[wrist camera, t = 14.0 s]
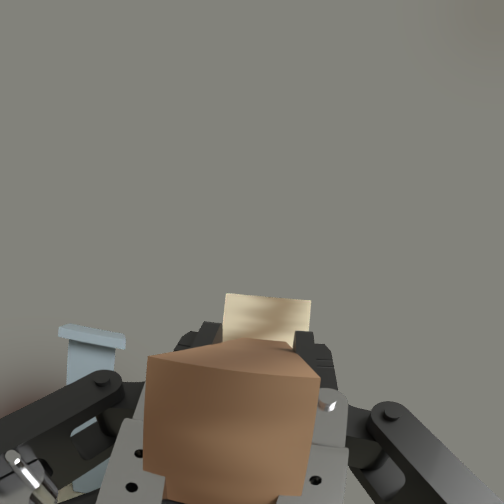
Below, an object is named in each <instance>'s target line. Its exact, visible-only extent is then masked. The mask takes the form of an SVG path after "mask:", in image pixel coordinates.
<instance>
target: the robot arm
mask: <svg viewBox="0 0 504 504" xmlns="http://www.w3.org/2000/svg"><path fill="white" fill-rule="evenodd" d="M222 342H223V326H222V324H221V323H214V322H205V321H204V322H203V325H202V326H201V328H200V330H199V332H193V331H190V332H188V333H187V334H185V335H184V336H182V338H181V339H180V341H179V342H178V345H177V346H176V347H175V349H174V351H173V352H175V351H180V350H186V349H191V348H196V347H201V346H206V345H213V344H218V343H222ZM292 350H293V351H294V352H295V353H296V354H298V355H299V356H300V357H301V358H302V359H303V360H304V361H305V362H306V363H307V364H308V365H309V366H310V367H311V368H312V369H313V370H314V371H315V373H316V374H317V375H318V376H319V377H320V378H321V381H320V389H319V396H318V404H317V411H316V418H315V424H314V431H313V437H312V443H311V449H310V454H309V460H308V465H307V470H306V475H305V480H304V485H303V490H302V495H301V496H284V495H279V497H278V500H277V503H276V504H343V499H344V492H345V484H346V475H347V467H348V466H349V468H350V470H351V471H352V473H353V474H354V475H355V477H356V478H357V479H358V481H359V482H360V483H361V485H362V486H363V488H364V489H365V490H366V492H367V493H368V494H369V496H370V497H371V499H372V500H373V501H374V503H375V504H504V502H502V500H501V499H499V498H498V497H497V496H496V495H495V494H494V493H493V492H492V491H491V490H490V489H489V488H488V487H487V486H486V485H485V484H484V483H483V482H482V481H481V480H480V479H479V478H478V477H477V476H475V474H473V473H472V471H470V470H469V469H468V468H467V467H466V466H465V465H464V464H463V463H462V462H461V461H460V460H459V459H458V458H457V457H456V456H455V455H454V454H453V453H452V452H451V451H450V450H449V449H448V448H447V447H446V446H445V445H444V444H443V443H442V442H441V441H440V440H439V439H437V438H436V437H435V436H434V435H433V434H432V433H431V432H430V431H429V430H428V429H427V428H426V427H425V426H424V425H423V424H422V423H421V422H420V421H419V420H418V419H417V418H416V417H415V416H414V415H413V414H412V413H411V412H410V411H409V410H408V409H407V408H405V407H404V406H403V405H401V404H399V403H396V402H390V401H386V402H381V403H378V404H377V405H375V406H374V407H373V409H372V410H371V411H368V410H364V409H360V408H356V407H353V406H350V405H349V404H348V400H347V398H346V397H345V396H344V395H343V394H342V393H341V392H339V391H338V388H337V382H336V376H335V370H334V365H333V361H332V355H331V351H330V350H329V349H328V348H327V347H326V346H325V344H314V336H313V332H309V331H296V330H295V334H294V340H293V348H292ZM145 386H146V381H145V382H122V379H121V376H120V375H119V374H118V373H116V372H114V371H112V370H97V371H94V372H92V373H90V374H88V375H86V376H84V377H82V378H80V379H79V380H77V381H75V382H73V383H71V384H69V385H67V386H65V387H63V388H61V389H59V390H57V391H55V392H53V393H51V394H49V395H47V396H46V397H43V398H42V399H40V400H37V401H35V402H34V403H32V404H29V405H27V406H25V407H23V408H21V409H20V410H17V411H15V412H13V413H11V414H9V415H7V416H5V417H3V418H1V419H0V504H57V499H56V498H57V496H58V490H60V489H62V488H63V487H65V486H66V485H68V484H70V483H71V482H73V481H74V480H76V479H78V478H79V477H81V476H82V475H84V474H85V473H87V472H89V471H90V470H92V469H93V468H95V467H96V466H98V465H99V464H101V463H102V462H104V461H105V460H107V459H108V458H109V457H110V459H109V462H108V466H107V469H106V472H105V475H104V478H103V481H102V484H101V487H100V488H98V489H96V490H93V491H91V492H88V493H85V494H83V495H80V496H78V497H75V498H72V499H69V500H67V501H64V502H61V503H58V504H185V503H181V502H177V501H173V500H169V499H168V497H167V488H166V477H164V476H160V475H157V474H153V473H150V472H147V471H144V470H143V423H144V402H145ZM94 417H96V420H97V421H96V422H94V423H93V424H91V425H90V426H88V427H86V428H85V429H83V430H81V431H80V432H78V433H76V434H74V435H73V436H71V433H72V431H73V430H74V429H75V428H77V427H79V426H80V425H82V424H84V423H85V422H87V421H89V420H90V419H92V418H94ZM70 436H71V437H70Z"/></svg>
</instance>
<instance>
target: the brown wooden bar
mask: <svg viewBox="0 0 504 504" xmlns="http://www.w3.org/2000/svg"><path fill="white" fill-rule="evenodd" d="M310 309H311V301H310V300H297V299H284V298H273V297H261V296H251V295H241V294H231V293H226V299H225V309H224V317H223V342H222V343H218V344H213V345H206V346H201V347H196V348H191V349H186V350H180V351H175V352H169V353H164V354H158V355H152V356H148V361H147V372H146V373H147V374H146V386H145V402H144V423H143V470H144V471H147V472H150V473H153V474H157V475H160V476H164V477H166V488H167V497H168V499H169V500H173V501H177V502H181V503H185V504H276V503H277V500H278V497H279V495H284V496H301V495H302V490H303V485H304V480H305V475H306V470H307V465H308V460H309V454H310V449H311V443H312V437H313V431H314V424H315V418H316V411H317V404H318V396H319V389H320V381H321V378H320V377H319V376H318V375H317V374H316V373H315V371H314V370H313V369H312V368H311V367H310V366H309V365H308V364H307V363H306V362H305V361H304V360H303V359H302V358H301V357H300V356H299V355H298V354H296V353H295V352H294V351H293V350H292V348H293V340H294V334H295V330H296V331H309V320H310Z"/></svg>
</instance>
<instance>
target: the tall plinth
mask: <svg viewBox="0 0 504 504" xmlns="http://www.w3.org/2000/svg"><path fill="white" fill-rule="evenodd" d="M58 336H59V337H63V338H67V339H69V347H68V363H67V364H68V365H67V385H69V384H71V383H73V382H75V381H77V380H79V379H80V378H82V377H84V376H86V375H88V374H90V373H92V372H94V371H97V370H112V371H114V359H115V348H119V349H125V344H126V339H125V335H124V334H122V333H116V332H111V331H105V330H100V329H95V328H90V327H85V326H79V325H75V324H67V325H64V326H61V327H59V333H58ZM96 421H97V420H96V417H94V418H92V419H90V420H89V421H87V422H85V423H84V424H82V425H80V426H79V427H77V428H75V429H74V430H73V431H72V433H71V436H73V435H74V434H76V433H78V432H80V431H81V430H83V429H85V428H86V427H88V426H90V425H91V424H93V423H94V422H96ZM71 436H70V437H71ZM109 459H110V457H109V458H108V459H107V460H105V461H104V462H102V463H101V464H99V465H98V466H96V467H95V468H93V469H92V470H90V471H89V472H87V473H85V474H84V475H82V476H81V477H79V478H78V479H76V480H74V481H73V482H72V483H73V490H74V491H76V492H82V493H88V492H91V491H93V490H96V489H98V488H100V487H101V484H102V481H103V478H104V475H105V472H106V469H107V466H108V462H109Z"/></svg>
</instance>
